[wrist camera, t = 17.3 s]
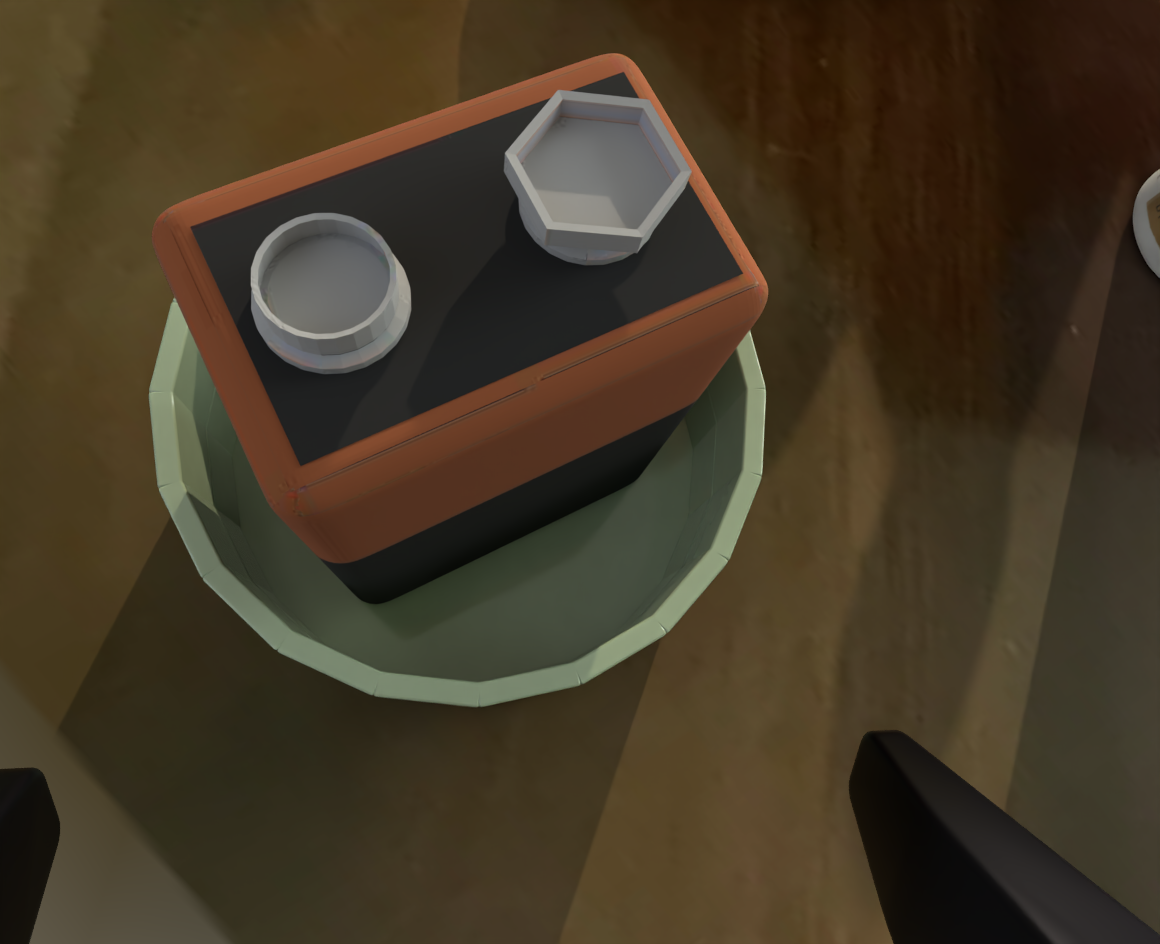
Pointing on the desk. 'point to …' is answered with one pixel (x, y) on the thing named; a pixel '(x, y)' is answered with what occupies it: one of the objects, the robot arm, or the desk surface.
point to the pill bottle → (1148, 221)
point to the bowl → (484, 586)
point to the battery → (463, 318)
